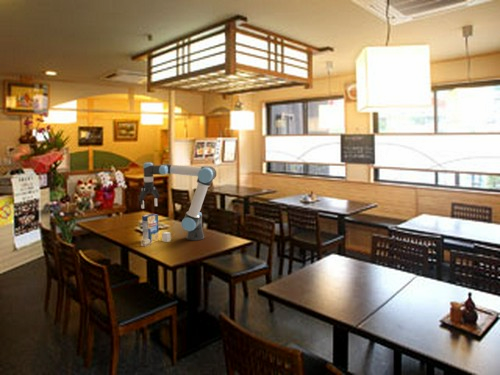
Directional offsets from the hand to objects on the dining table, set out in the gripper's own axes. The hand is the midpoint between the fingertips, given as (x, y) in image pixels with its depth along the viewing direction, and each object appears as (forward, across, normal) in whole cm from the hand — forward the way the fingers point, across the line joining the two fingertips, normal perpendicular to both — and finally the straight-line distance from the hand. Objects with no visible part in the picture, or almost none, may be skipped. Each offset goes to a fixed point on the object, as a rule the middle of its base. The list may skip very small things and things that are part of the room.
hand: (149, 207), depth 303 cm
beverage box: (+29, 0, 0) cm, 29 cm away
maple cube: (+29, +11, +7) cm, 32 cm away
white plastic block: (+29, -8, +10) cm, 32 cm away
